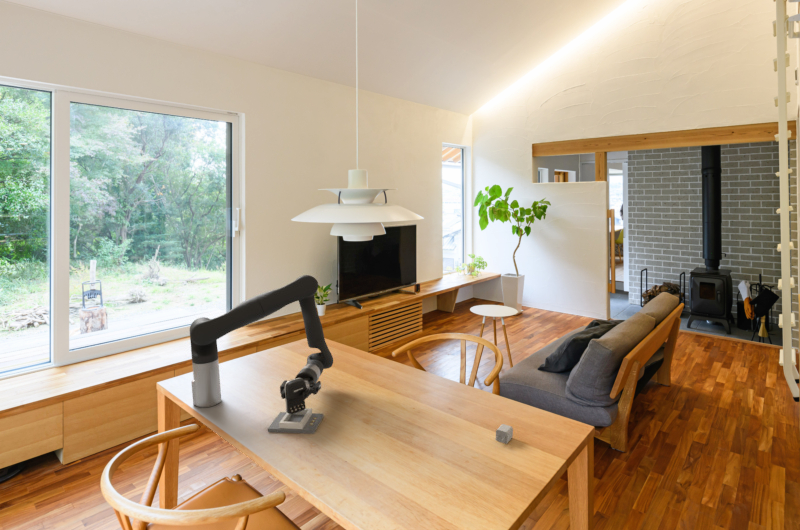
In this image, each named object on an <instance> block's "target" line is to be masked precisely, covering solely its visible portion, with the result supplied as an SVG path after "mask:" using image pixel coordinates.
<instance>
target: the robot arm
mask: <svg viewBox="0 0 800 530" xmlns="http://www.w3.org/2000/svg"><path fill="white" fill-rule="evenodd" d="M318 289H319V282H318V280H317V279H316V278H315V277H314V276H312V275H310V274H304V275H301V276H298V277H297V278H296V279H295V280H293V281H292V282H290V283H287V284H286V285H284V286H281V287H280V288H276V289H275V288H274V289H272V290H269V291H265V292H262V293H260V294H257V295H253V296H252V297H250V298H248V299H246V300H243V301H242V302H240V303H238V304H237V305H236V306H235V307H233V308H232V309H230V310H229V311H227V312H225V313H224V314H222V315H219V316H217V317H214V318H208V317H198V318H196V319H195V320H194V321H192V322H191V324H190V326H189V340H190V351H191V364H192V376H193V380H192V381H191V393H192V405H193V406H197V407H198V408H208V407H213V406H216V405H219V404H220V403H221V402H222V393H221V391H222V390H221V378H220V377H221V376H220V365H219V352H218V343H217V342H218V340H219V339H221V338H222V337H224V336H226V335H228V334H229V333H231V332H233V331H237V330H238V329H240V328H243V327H245V326H248V325H251V324H252V323H253V324H254V323H255V322H258V321H259V320H262V319H264V318H266V317H268V316H270V315H273V314H274V313H276V312H277V311H280V310H282V309H283V308H284V307H287V306H288V305H290V304H292V303H295V302H298V303H299V307H300V311H301V314H302V319H303V324H304V325H303V326H304V330H305V336H306V341H307V345H308V347H309V348H310V349H318V350H319V351H320V352H314V353H311V354H309V355H308V356H307V358H306V364H305V365H304V366H303V367H302V368H301V369H300V370H299V371H298V373H297V374H296V375H295V378H302V379H303V380H304V381H305V384H306V390H305V391H304V393H303V399H305V400H306V399H308V398H309V397H310V396H312V395H313V396H315V395H317V393H319V391H320V390H321V389H322V384H321V383H322V381H320V380H319V379H320V377H321V375H322V374H323V372H324V370H326V369H330V368H331V367H332V366H333V364H334V358H333V357H334V356H333V355H332V352H331V351H330V349H329V346H328V345H327V342H326V339H325V334H324V329H323V325H322V322H321V319H320V315H319V312H318V309H317V307H316V299H315V297H316V296H315V295H316V293H317V292H318ZM295 378H294V379H295ZM287 381H288V380H287V379H286V380H283V382H282V383H281V384H280V387H279V391H280V392H279V393H280V398H281V399H283V400H285V389H284V387H285V383H286V382H287Z"/></svg>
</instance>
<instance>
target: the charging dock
mask: <svg viewBox="0 0 800 530" xmlns="http://www.w3.org/2000/svg"><path fill="white" fill-rule="evenodd" d="M323 419H324V413H321V412H320V413H319V412H318V413H316V412H315V413H314V412H313V409H312V408H307V407H306V408H305V409H304V410H302V411H300V412H297V413H294V414H289V413H287V412H286V411H280V412H279V413H278V415H277V416H276V417H275V418H274V419H273V421H272V422H271V423H270V425H269V426H268V427H267V433H283V432H286V433H289V434H309V435H311V434H313V435H314V434H315V433H316V431H317V429H318V427H319V426H318V425H320V424H321V422H322V420H323ZM286 433H285V434H286Z"/></svg>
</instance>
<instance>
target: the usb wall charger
mask: <svg viewBox="0 0 800 530" xmlns="http://www.w3.org/2000/svg"><path fill="white" fill-rule="evenodd" d="M513 435H514V428H513V426H511V425H508V424H500V426H499V427H498V428H497V429H496V430H495V440H494V441H496V442H499V443H503V444H508V443H509V442H510V441H511V440H512V439H513V437H514V436H513Z"/></svg>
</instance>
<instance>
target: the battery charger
mask: <svg viewBox="0 0 800 530" xmlns="http://www.w3.org/2000/svg"><path fill="white" fill-rule="evenodd" d="M284 389H285V399H284V400H285V412H287V413H289V414H294V413H297V412H300V411H302V410H304V409H305V408H307V407H306V401H305V400H306V399H303V393H304V391H305V390H306V384H305V381H304V380H303V379H302V378H292V379H290V380H287V382H286V383H285V387H284Z"/></svg>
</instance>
